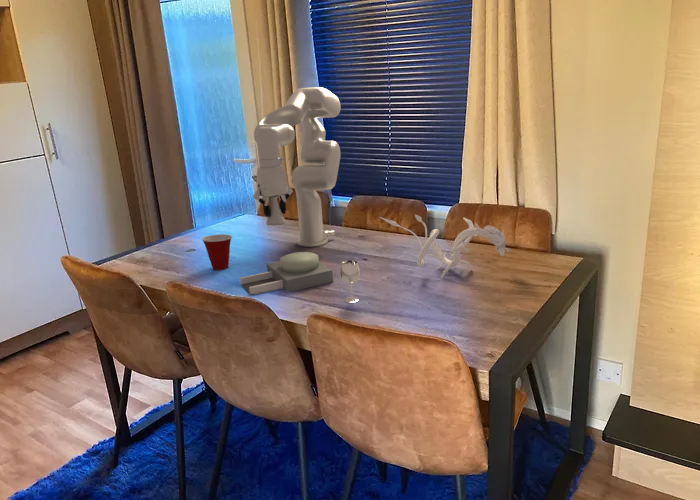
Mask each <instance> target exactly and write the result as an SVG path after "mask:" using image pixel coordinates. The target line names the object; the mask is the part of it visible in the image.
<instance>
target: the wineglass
mask: <svg viewBox="0 0 700 500" xmlns="http://www.w3.org/2000/svg"><path fill="white" fill-rule="evenodd" d="M360 272H361V271H360V266H359V263H358V261H357V260H355V259H354V260H352V259H349V260H344V261H342V262H341V266H340V278H341V280H342V281H343V282H344V283H347V284H349V289H350V290H349V291H350V297H346V298H345V299H344V302H345V303H348V304H353V303H357V302H360V298H359V297H357V296H354V295H353V287H354V286H353V284H354V283H357V282H358V281H359V279H360V276H361V273H360Z"/></svg>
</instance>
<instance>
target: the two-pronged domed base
mask: <svg viewBox="0 0 700 500" xmlns="http://www.w3.org/2000/svg"><path fill="white" fill-rule="evenodd" d="M319 259H320V258H319V255H318V254H317V253H314V252H308V251H305V252H304V251H299V252H293V253H289V254H285V255H283V256H281V257H280V258H279V260H277V261H273V262H269V263H266V269H267V270H266V271H264V272H262V273H257V274H251V275H250V274H249V275H246V276H242V277H239V281H240V286H241V287H242V288H243V289H244V290H245V291H246V292H247V293H248V294H249V295H250V296H254V295H258V294H263V293H267V292H272V291H276V290H281V289H284V290H285V291H286V292H287V293H289V292H294V291H297V290H301V289H302V290H303V289H307V288H311V287H315V286H320V285H324V284H328V283H332V282H334V274H333V269H331V268H330V267H329V266H326V265H325V264H323V263H322V262H321V261H319Z"/></svg>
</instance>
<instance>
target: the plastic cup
mask: <svg viewBox="0 0 700 500" xmlns="http://www.w3.org/2000/svg"><path fill="white" fill-rule="evenodd" d="M232 238H233V236H232V235H231V234H224V233H223V234H222V233H221V234H210V235H207V236H203V237H202V238H201V240H202V241H203V244H204V247H205V249H206V252H207V256H208V259H209V262H210V264H211V268H212V269H213V270H214V271H223V270H226V269H228V268H229V265H230V251H231V241H232Z"/></svg>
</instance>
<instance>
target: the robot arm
mask: <svg viewBox="0 0 700 500" xmlns="http://www.w3.org/2000/svg"><path fill="white" fill-rule="evenodd" d="M341 107H342V106H341V101H340V100H339V97H338V96H337V95H335V94H334V93H332V92H331V91H330V90H329V89H327V88H324V87H321V86H317V87H300V88H298V89H295V91H293V93H292V94H291V96H290V97H289V98H288V99H287V101H286V102H285V104H284V105H283V106H281V107H279V108H277V109H275V110H273V111H271V112H269V113H267V114H266V115H264V116H263V117H262V118H261V119H260V120H259V122H258V123H257V124H256V126H255V128H254V131H253V132H254V133H253V139H254V141H255V143H256V146H257V155H258V165H259V167H258V168H256V169H257V170H256V191H255V193H254V194H253V196H252V198H253V199H254V200H256V201H257V202H259V203H260V204H261V205H262V208H263V214H264V215H265V216H266V217H267V218H268V217H270V216H271V215H270V205H269V201H270V200H269V199H270V198H269V197H272V196H278V198H279V201H278V204H279V207H280V210H281V212H282V214H283V215H285V214H286V211H287V206H286V205H287V204H286V203H287V200H288V199H289V197H290V196H291V195H292V193H293V192H294V190H295V196H296V197H295V198H296V202H297V215H298V216H297V217H298V225H299V228H298V229H299V236H300V238H298V239H297V241H296V244H297V245H298V246H300V247H306V248H309V247H310V248H311V247H313V248H314V247H319V246H323V245H325V244H327V243H328V241H329V239H328V237H329V236H335V235H336V233H335V230H334V229H333V230H328V229H326V230H325V229H324V222H323V212H322V200H321V197H320V195H319V193H318V192H317V191H318V190H319V191H321V190H322V191H326V190H328V191H329V190H332V189H333V188H335V186H336V183H337V179H338V174H339V167H340V161H341V148H340V145H339V143H338V142H337V141H334V140H326V134H327V133H326V132H327V131H326V129H325V127H324V126H323V124H322V123H321V122H320V121H319V119H327V118H328V119H330V118H331V119H332V118H336V117H337V116H339V114H340V112H341ZM301 122H302V125H303V127H304V136H303V140H302V145H301V151H300V160H301V161H302V163H304V164H305V165H299V166H296V167H295V168H294V169H293V171H292V174H291V177H292V178H291V180H292V183H293V187H294V190H293V189H292V187H290V186H289V184H288V181H287V180H288V179H287V176H286V171H285V169H284V168H285V167H284V166H283V163H284V162H285V158H283V157H282V155H281V146H283V147H284V146H289V145H291V144H292V143H293V142H294V140H295V137H296V136H295V135H296V131H295V129H294V126H297V125H300V124H301ZM261 197H262V198H261Z"/></svg>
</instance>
